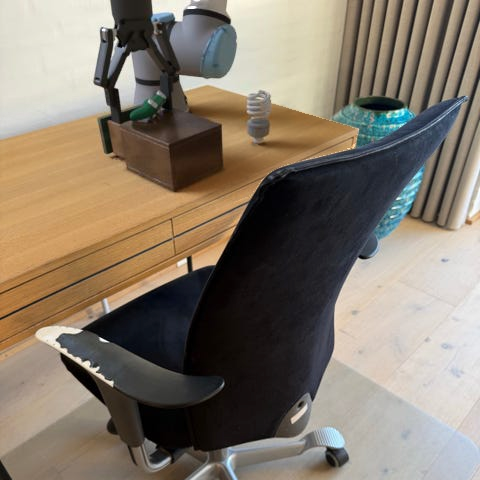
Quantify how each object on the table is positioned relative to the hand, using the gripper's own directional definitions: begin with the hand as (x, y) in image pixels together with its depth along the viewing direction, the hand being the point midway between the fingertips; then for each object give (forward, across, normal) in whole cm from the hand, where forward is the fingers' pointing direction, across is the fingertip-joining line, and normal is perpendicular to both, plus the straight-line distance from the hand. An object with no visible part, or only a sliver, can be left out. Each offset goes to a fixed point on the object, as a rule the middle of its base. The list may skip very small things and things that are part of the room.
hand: (143, 115), depth 100 cm
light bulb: (+9, +25, -11) cm, 29 cm away
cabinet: (+10, +2, -7) cm, 12 cm away
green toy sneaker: (+1, +2, 0) cm, 2 cm away
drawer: (+9, +2, +5) cm, 11 cm away
